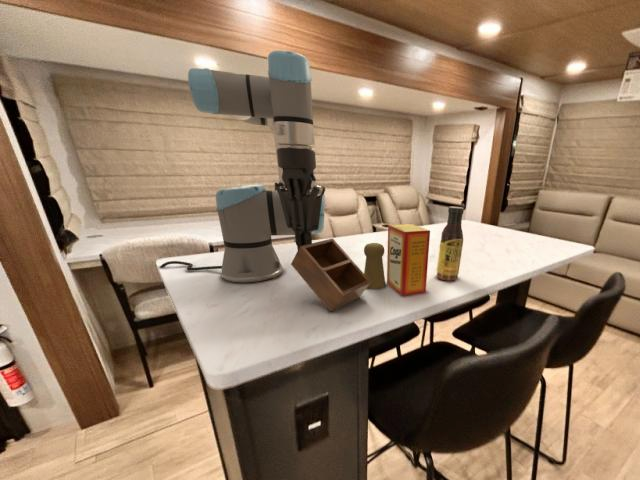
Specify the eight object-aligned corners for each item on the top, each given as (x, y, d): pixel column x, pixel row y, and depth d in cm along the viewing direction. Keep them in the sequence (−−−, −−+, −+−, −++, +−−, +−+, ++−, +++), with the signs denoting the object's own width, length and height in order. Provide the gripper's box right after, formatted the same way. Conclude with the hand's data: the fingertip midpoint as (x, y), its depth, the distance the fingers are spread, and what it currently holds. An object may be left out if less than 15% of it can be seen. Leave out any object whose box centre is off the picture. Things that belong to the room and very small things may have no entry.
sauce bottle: (443, 282, 85) (450, 208, 78) (432, 275, 91) (438, 205, 83) (463, 280, 88) (472, 208, 80) (451, 273, 93) (458, 205, 85)
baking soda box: (386, 283, 83) (388, 223, 77) (408, 280, 86) (411, 222, 80) (402, 296, 76) (405, 230, 69) (425, 292, 78) (430, 229, 72)
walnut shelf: (290, 264, 68) (300, 246, 64) (322, 254, 76) (332, 238, 72) (330, 311, 66) (342, 295, 63) (359, 297, 74) (371, 282, 71)
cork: (382, 289, 79) (382, 247, 75) (359, 287, 80) (358, 245, 76) (387, 282, 84) (388, 242, 80) (366, 279, 85) (366, 240, 81)
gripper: (259, 146, 63) (273, 258, 72) (304, 147, 57) (313, 269, 66) (288, 148, 69) (298, 252, 78) (332, 149, 63) (337, 261, 72)
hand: (305, 259), depth 72 cm, fingers closed
